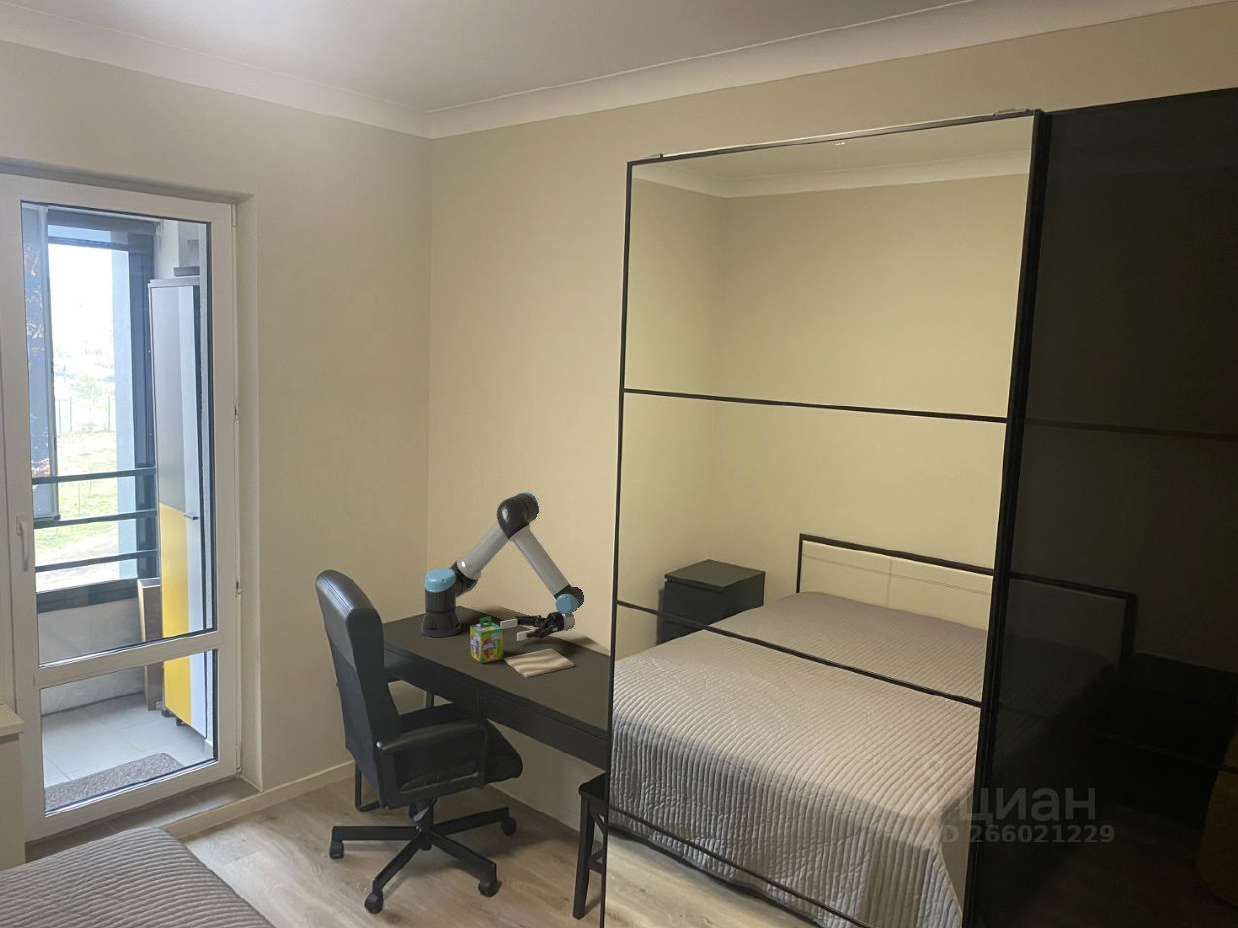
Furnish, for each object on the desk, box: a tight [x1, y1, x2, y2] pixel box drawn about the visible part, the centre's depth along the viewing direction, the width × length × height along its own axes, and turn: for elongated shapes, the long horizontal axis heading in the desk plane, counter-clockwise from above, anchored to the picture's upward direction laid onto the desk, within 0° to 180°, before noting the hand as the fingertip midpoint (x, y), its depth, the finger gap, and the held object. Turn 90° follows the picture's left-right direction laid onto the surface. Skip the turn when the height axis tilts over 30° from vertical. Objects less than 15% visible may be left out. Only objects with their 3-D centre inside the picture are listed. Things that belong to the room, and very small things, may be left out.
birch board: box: [503, 647, 575, 678], centre depth 310 cm, size 17×19×1 cm
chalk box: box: [469, 616, 504, 665], centre depth 314 cm, size 9×9×15 cm
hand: (508, 630), depth 318 cm, fingers open, 13 cm apart
